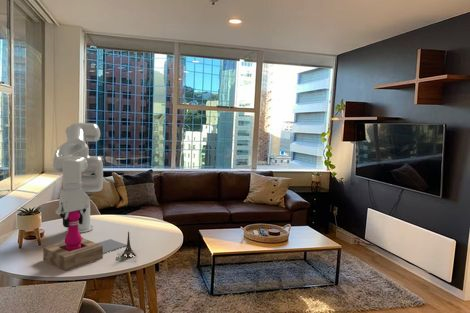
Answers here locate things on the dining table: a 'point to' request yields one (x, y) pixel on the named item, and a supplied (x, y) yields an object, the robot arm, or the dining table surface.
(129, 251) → the eiffel tower figurine
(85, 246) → the walnut pocket holder
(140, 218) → the dining table surface
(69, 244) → the pepper mill
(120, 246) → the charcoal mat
